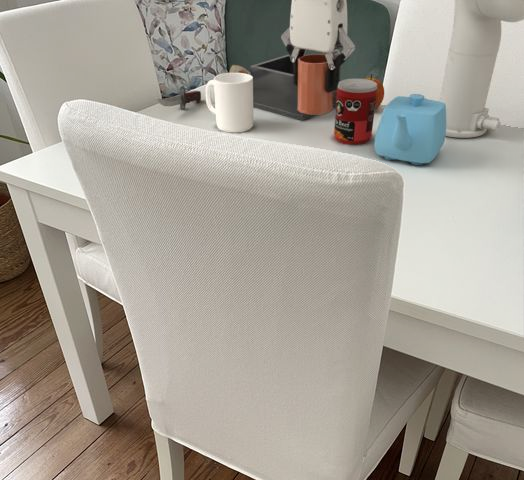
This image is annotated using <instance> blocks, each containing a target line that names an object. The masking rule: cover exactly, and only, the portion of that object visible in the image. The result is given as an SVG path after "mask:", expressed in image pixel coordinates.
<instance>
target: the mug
mask: <svg viewBox="0 0 524 480" xmlns="http://www.w3.org/2000/svg"><path fill="white" fill-rule="evenodd" d="M228 73H245V74H249V75H250V70H248V69H246V68H245V67H243V66H241V65H239V64H238V65H237V64H232V65H231V66H230V69H229V72H228Z"/></svg>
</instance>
